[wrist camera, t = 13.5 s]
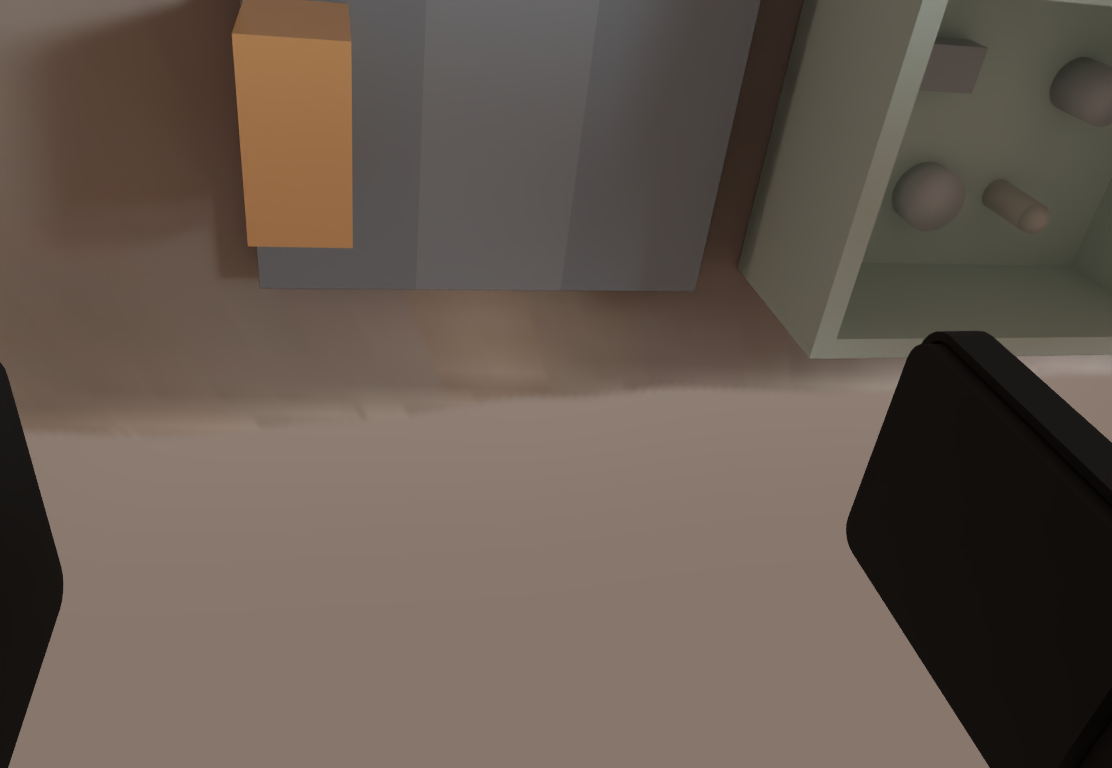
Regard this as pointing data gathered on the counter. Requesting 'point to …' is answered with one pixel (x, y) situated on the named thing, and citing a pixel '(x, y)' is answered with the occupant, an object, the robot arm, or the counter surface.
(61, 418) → the counter surface
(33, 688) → the robot arm
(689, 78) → the snap lid
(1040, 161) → the parts tub
